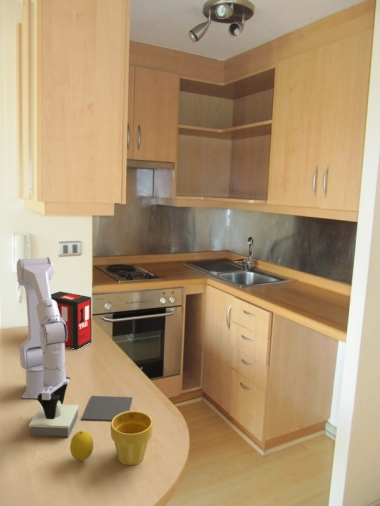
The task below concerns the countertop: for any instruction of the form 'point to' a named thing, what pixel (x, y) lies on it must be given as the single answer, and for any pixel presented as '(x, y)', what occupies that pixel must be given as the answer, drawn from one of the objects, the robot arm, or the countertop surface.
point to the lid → (61, 418)
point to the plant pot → (131, 435)
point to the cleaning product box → (75, 317)
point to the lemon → (81, 445)
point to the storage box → (53, 430)
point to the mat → (106, 407)
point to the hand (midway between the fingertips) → (54, 410)
